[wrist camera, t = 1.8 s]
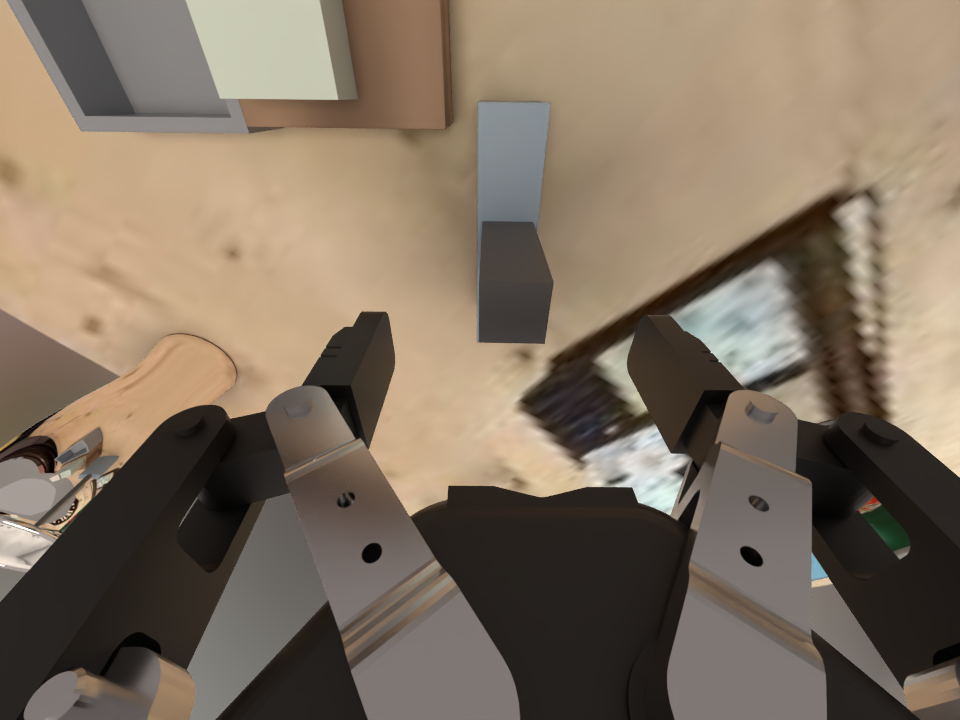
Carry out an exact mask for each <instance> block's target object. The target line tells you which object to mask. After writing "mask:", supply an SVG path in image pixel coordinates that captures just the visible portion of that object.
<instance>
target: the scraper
mask: <svg viewBox="0 0 960 720" xmlns="http://www.w3.org/2000/svg"><path fill="white" fill-rule="evenodd" d="M550 104H551V103H547V102H540V101H479V102H478V207H477V342H486V343H537V344H545V337H546V330H547V323H548V317H549V310H550V303H551V296H552V289H553V279H552V276H551V273H550V270H549V268H548V265H547V262H546V259H545V256H544V253H543V250H542V247H541V244H540V241H539V238H538V235H537V227H538V218H539V208H540V199H541V189H542V180H543V170H544V161H545V151H546V142H547V132H548V123H549V113H550Z"/></svg>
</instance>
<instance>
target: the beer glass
mask: <svg viewBox="0 0 960 720" xmlns="http://www.w3.org/2000/svg"><path fill="white" fill-rule="evenodd" d="M236 377H237V373H236V369H235V366H234V364H233V363H232V361H231V360H230V358H229V357H228V356H227V355H226V354H225V353H224V352H223V351H222V350H221V349H219V348H218V347H216V346H215V345H213V344H212V343H210V342H208V341H206V340H204V339H201V338H198V337H195V336H191V335H186V334H173V335H169V336H166V337H164V338H162V339H161V340H160V341H159V342H158V343H157V344H156V345H155V346H154V347H153V348H152V350H151V351H150V352H149V353H148V355H147V356H146V357H145V358H144V359H143V360H142V361H141V362H140V363H139V364H138V365H136V367H134V368H133V369H132V370H130V371H129V372H127V373H126V374H125V375H123V376H121V377H120V378H118V379H116V380H114V381H112V382H111V383H109V384H107V385H105V386H103V387H101V388H99V389H97V390H95V391H94V392H92V393H90V394H88V395H86V396H84V397H82V398H80V399H78V400H76V401H74V402H72V403H71V404H69V405H67V406H65V407H63V408H61V409H60V410H58V411H57V412H54V413H53V414H51V415H49V416H48V417H46V418H44V419H42V420H41V421H39V422H37V423H36V424H34V425H33V426H31V427H30V428H28V429H27V430H25V431H24V432H22V433H21V434H20V435H18V436H17V437H15V438H14V439H12V440H11V441H9V442H8V443H7V444H5V445H4V446H3V447H2V448H0V567H2V568H5V569H11V570H15V571H21V572H28V571H29V570H30V569H31V567H32V566H33V565H34V564H35V563H36V562H37V561H38V560H39V559H40V557H41V556H42V555H43V554H44V553H45V552H46V551H47V550H48V548H49V547H50V546H51V545H52V544H53V543H54V542H55V541H56V540H57V538H58V537H59V536H60V535H61V534H62V533H63V532H64V531H65V530H66V528H67V527H68V526H69V525H70V524H71V523H72V522H73V521H74V520H75V518H76V517H77V516H78V515H79V514H80V513H81V512H82V511H83V510H84V508H85V507H86V506H87V505H88V504H89V503H90V502H91V501H92V500H93V498H94V497H95V496H96V495H97V494H98V493H99V492H100V491H101V490H102V488H103V487H104V486H105V485H106V484H107V483H108V482H109V481H110V479H111V478H112V477H113V476H114V475H115V474H116V473H117V472H118V471H119V469H120V468H121V467H122V466H123V465H124V464H125V463H126V462H127V461H128V459H129V458H130V457H131V456H132V455H133V454H134V453H135V452H136V451H137V449H138V448H139V447H140V446H141V445H142V444H143V443H144V442H145V441H146V439H147V438H148V437H149V436H150V435H151V434H152V433H153V432H154V431H155V429H156V428H157V427H158V426H159V425H160V424H161V423H163V422H164V421H165V420H167V419H168V418H170V417H171V416H173V415H175V414H177V413H179V412H181V411H183V410H186V409H188V408H192V407H195V406H200V405H209V404H210V403H212V402H213V401H214V400H215V399H217V398H218V397H219V396H221V395H222V394H223V393H225V392H226V391H227V390H229V389H230V388H231V387H232V386H233V385H234V383H235V381H236Z"/></svg>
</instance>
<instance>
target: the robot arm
mask: <svg viewBox="0 0 960 720" xmlns="http://www.w3.org/2000/svg"><path fill="white" fill-rule="evenodd" d="M710 352H711V351H710V350H709V349H708V348H707V347H706V346H705V344H704V343H703V342H702V341H701V340H699V339H698V338H696V337H694V336H693V335H691V334H690V333H688V332H686V331H683V329H682V328H681V327H680V326H679V325H678V324H677V322H676V321H675V320H674V319H673V318H672V317H671V316H668V315H644V316H643V317H642V318H641V319H640V321H639V323H638V327H637V330H636V333H635V336H634V339H633V342H632V345H631V348H630V351H629V354H628V359H627V368H628V373H629V375H630V377H631V379H632V381H633V383H634V385H635V386H636V388H637V390H638V392H639V394H640V396H641V398H642V400H643V402H644V403H645V405H646V407H647V409H648V411H649V413H650V415H651V417H652V418H653V420H654V422H655V424H656V426H657V428H658V430H659V432H660V434H661V435H662V437H663V439H664V441H665V443H666V445H667V447H668V449H669V451H670V452H671V453H674V454H690V455H691V457H692V460H691V461H690V463H689V465H688V467H687V469H686V472H685V475H684V478H683V481H682V484H681V487H680V490H679V492H678V495H677V498H676V501H675V504H674V507H673V510H672V512H671V515H670V516H669V515H667V514H666V513H664V512H661V511H659V510H657V509H655V508H652V507H650V506H647V505H644V504H641V503H638V501H637V499H636V496H635V494H634V491H633V488H629V487H586V488H581V489H577V490H573V491H569V492H565V493H561V494H557V495H553V496H549V497H536V496H532V495H527V494H523V493H519V492H515V491H511V490H507V489H503V488H499V487H495V486H449V487H448V499H447V500H445V501H441V502H438V503H435V504H433V505H430V506H428V507H426V508H424V509H422V510H420V511H418V512H416V513H415V514H413V515H412V516H409V515H408V513H407V511H406V510H405V508H404V507H403V505H402V503H401V502H400V500H399V499H398V497H397V495H396V494H395V492H394V490H393V489H392V487H391V486H390V484H389V482H388V481H387V479H386V478H385V476H384V474H383V473H382V471H381V469H380V468H379V466H378V465H377V463H376V461H375V460H374V458H373V457H372V455H371V453H370V452H369V450H368V449H369V447H370V444H371V441H372V437H373V434H374V431H375V428H376V425H377V422H378V419H379V416H380V412H381V409H382V406H383V403H384V400H385V397H386V394H387V391H388V387H389V384H390V381H391V378H392V375H393V372H394V367H395V352H394V346H393V340H392V334H391V328H390V322H389V317H388V314H387V313H386V312H361V313H360V315H359V317H358V318H357V320H356V322H355V324H354V325H353V327H344V328H343V329H342V330H340V331H339V332H337V333H336V334H335V335H333V336H332V338H331V339H330V341H329V343H328V344H327V346H326V349H324V351H323V352H322V354H321V357H319V359H318V360H317V362H316V364H315V365H314V367H313V368H312V370H311V372H310V373H309V375H308V376H307V378H306V380H305V381H304V383H303V384H302V386H300V387H296V388H293V389H290V390H287V391H285V392H283V393H281V394H280V395H278V396H277V397H276V398H274V399H273V400H272V401H271V402H270V404H269V405H268V407H267V409H266V411H265V412H261V413H256V414H251V415H247V416H242V417H237V418H232V419H230V418H229V416H228V415H227V413H226V411H225V410H224V409H223V408H222V407H220V406H217V405H200V406H195V407H192V408H188V409H186V410H183V411H181V412H179V413H177V414H175V415H173V416H171V417H170V418H168V419H167V420H165V421H164V422H163V423H161V424H160V425H159V426H158V427H157V428H156V429H155V431H154V432H153V433H152V434H151V435H150V436H149V437H148V438H147V439H146V441H145V442H144V443H143V444H142V445H141V446H140V447H139V448H138V449H137V451H136V452H135V453H134V454H133V455H132V456H131V457H130V458H129V459H128V461H127V462H126V463H125V464H124V465H123V466H122V467H121V468H120V469H119V471H118V472H117V473H116V474H115V475H114V476H113V477H112V478H111V479H110V481H109V482H108V483H107V484H106V485H105V486H104V487H103V488H102V490H101V491H100V492H99V493H98V494H97V495H96V496H95V497H94V498H93V500H92V501H91V502H90V503H89V504H88V505H87V506H86V507H85V508H84V510H83V511H82V512H81V513H80V514H79V515H78V516H77V517H76V518H75V520H74V521H73V522H72V523H71V524H70V525H69V526H68V527H67V528H66V530H65V531H64V532H63V533H62V534H61V535H60V536H59V537H58V538H57V540H56V541H55V542H54V543H53V544H52V545H51V546H50V547H49V548H48V550H47V551H46V552H45V553H44V554H43V555H42V556H41V557H40V559H39V560H38V561H37V562H36V563H35V564H34V565H33V566H32V567H31V569H30V570H29V571H28V572H27V573H26V574H25V575H24V576H23V577H22V579H21V580H20V581H19V582H18V583H17V584H16V585H15V586H14V587H13V589H12V590H11V591H10V592H9V593H8V594H7V595H6V596H5V598H4V599H3V600H2V601H1V602H0V720H189V718H190V715H191V711H192V709H193V705H194V699H195V686H194V680H193V678H192V676H191V674H190V673H189V672H188V671H187V667H188V665H189V663H190V661H191V659H192V657H193V655H194V652H195V650H196V648H197V646H198V644H199V642H200V640H201V638H202V635H203V633H204V631H205V629H206V627H207V625H208V623H209V621H210V618H211V616H212V614H213V612H214V610H215V607H216V606H217V603H218V601H219V599H220V597H221V595H222V593H223V591H224V589H225V586H226V584H227V582H228V580H229V578H230V576H231V574H232V571H233V569H234V567H235V565H236V563H237V561H238V559H239V556H240V554H241V552H242V550H243V548H244V546H245V544H246V542H247V539H248V537H249V535H250V533H251V531H252V529H253V526H254V524H255V522H256V520H257V518H258V516H259V514H260V512H261V509H262V507H263V505H264V503H265V501H266V499H268V498H272V497H276V496H280V495H283V494H287V493H290V494H291V497H292V500H293V502H294V505H295V508H296V511H297V514H298V516H299V519H300V522H301V525H302V528H303V530H304V533H305V536H306V539H307V541H308V544H309V547H310V550H311V553H312V556H313V558H314V561H315V564H316V567H317V570H318V572H319V575H320V578H321V581H322V584H323V586H324V589H325V591H326V595H327V597H328V601H327V602H326V603H325V604H324V605H323V606H322V607H321V608H320V609H319V611H318V612H317V613H316V614H315V615H314V616H313V617H312V618H311V619H310V620H309V621H308V622H307V623H306V624H305V626H303V628H302V629H301V630H300V631H299V632H298V633H297V634H296V635H295V636H294V637H293V638H292V639H291V641H289V643H288V644H287V645H286V646H285V647H284V648H283V649H282V650H281V651H280V652H279V653H278V654H277V655H276V656H275V657H274V658H273V659H272V660H271V661H270V663H269V664H268V665H267V666H266V667H265V668H264V669H263V670H262V671H261V672H260V673H259V674H258V675H257V676H256V677H255V679H254V680H253V681H252V682H251V683H250V684H249V685H248V686H247V687H246V688H245V689H244V690H243V691H242V692H241V693H240V694H239V695H238V697H237V698H236V699H235V700H234V701H233V702H232V703H231V704H230V705H229V706H228V707H227V708H226V709H225V710H224V711H223V712H222V713H221V715H220V716H219V717H218V718H217V719H216V720H960V478H959V477H958V476H957V475H956V474H955V473H953V472H952V471H951V470H950V469H949V468H948V467H946V466H945V465H944V464H943V463H942V462H940V461H939V460H938V459H937V458H936V457H935V456H933V455H932V454H931V453H930V452H929V451H927V450H926V449H925V448H924V447H923V446H922V445H920V444H919V443H918V442H917V441H916V440H914V439H913V438H912V437H911V436H910V435H908V434H907V433H906V432H904V431H903V430H901V429H900V428H898V427H896V426H894V425H892V424H890V423H888V422H886V421H884V420H881V419H879V418H876V417H873V416H870V415H866V414H862V413H855V412H847V413H843V414H841V415H839V416H838V417H837V419H836V420H835V421H834V422H833V423H832V424H831V425H830V426H825V425H820V424H816V423H811V422H807V421H802V420H798V419H797V417H796V415H795V414H794V413H793V411H792V410H791V409H790V408H788V407H787V406H786V405H785V404H783V403H782V402H780V401H779V400H777V399H775V398H773V397H771V396H768V395H766V394H763V393H760V392H756V391H750V390H745V389H744V388H743V387H742V386H741V385H740V383H739V382H738V381H737V380H736V379H735V378H734V377H733V376H732V375H731V373H730V372H729V371H728V370H727V369H726V368H725V367H724V366H723V364H722V363H721V362H718V359H717V358H716V357H715V356H714V354H713V353H710ZM196 497H197V498H198V499H197V501H196V502H195V504H194V505H193V507H192V508H191V510H190V511H189V513H188V515H187V516H186V518H185V519H184V521H183V522H182V524H181V526H180V527H179V525H180V523H181V521H182V519H183V517H184V516H185V514H186V513H187V511H188V510H189V508H190V506H191V505H192V503H193V502H194V500H195V499H196ZM873 497H875V498H876V499H877V500H878V501H879V502H880V503H881V504H882V505H883V507H884V508H885V509H886V510H887V511H888V512H889V513H890V514H891V515H892V516H893V517H894V519H895V520H896V521H897V522H898V523H899V524H900V525H901V526H902V527H903V529H904V530H905V531H906V533H907V535H908V537H909V540H910V550H909V552H908V554H907V555H906V556H904V557H903V558H901V559H899V558H898V557H897V556H896V554H895V553H894V552H893V551H892V550H891V548H890V547H889V546H888V545H887V544H886V543H885V541H884V540H883V539H882V538H881V537H880V535H879V534H878V533H877V532H876V531H875V530H874V528H873V527H872V526H871V525H870V524H869V522H868V521H867V520H866V519H865V518H864V517H863V515H862V514H861V513H860V512H859V511H858V510H859V509H860V508H861V507H862V506H863V505H865V504H866V503H867V502H868V501H869V500H871V499H872V498H873ZM178 528H179V529H178ZM812 553H813V555H814V556H815V558H816V559H817V561H818V562H819V564H820V565H821V567H822V568H823V570H824V571H825V573H826V574H827V576H828V577H829V579H830V580H831V582H832V583H833V585H834V586H835V588H836V589H837V591H838V592H839V594H840V595H841V597H842V598H843V600H844V601H845V603H846V604H847V606H848V607H849V609H850V610H851V612H852V613H853V615H854V616H855V618H856V619H857V621H858V622H859V624H860V625H861V627H862V628H863V630H864V631H865V633H866V634H867V636H868V637H869V639H870V640H871V642H872V643H873V645H874V646H875V648H876V649H877V651H878V652H879V654H880V655H881V657H882V658H883V660H884V661H885V663H886V664H887V666H888V667H889V669H890V670H891V672H892V673H893V675H894V676H895V678H896V679H897V681H898V682H899V684H900V685H901V687H902V688H903V690H904V696H905V700H906V703H907V706H908V708H909V709H907V708H906V707H905V706H904V705H902V704H901V703H900V702H899V701H898V700H896V699H895V698H894V697H893V696H891V695H890V694H889V693H888V692H887V691H886V690H884V689H883V688H882V687H881V686H880V685H878V684H877V683H876V682H874V681H873V680H872V679H871V678H870V677H869V676H867V675H866V674H865V673H864V672H863V671H861V670H860V669H859V668H858V667H857V666H855V665H854V664H853V663H852V662H851V661H849V660H848V659H847V658H846V657H844V656H843V655H842V654H841V653H840V652H838V651H837V650H836V649H835V648H834V647H832V646H831V645H830V644H829V643H827V642H826V641H825V640H824V639H823V638H821V637H820V636H819V635H818V634H817V633H815V632H814V631H813V630H812V629H811V570H812Z"/></svg>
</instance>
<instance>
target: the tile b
mask: <svg viewBox="0 0 960 720" xmlns="http://www.w3.org/2000/svg"><path fill="white" fill-rule="evenodd" d="M186 3H187V6H188V9H189V12H190V14H191V17H192V20H193V23H194V26H195V29H196V32H197V34H198V37H199V40H200V43H201V46H202V49H203V51H204V54H205V57H206V60H207V63H208V66H209V69H210V71H211V74H212V77H213V80H214V83H215V86H216V88H217V91H218V94H219V97H220V99H301V100H349V99H358V96H357V90H356V84H355V78H354V72H353V65H352V59H351V53H350V47H349V41H348V34H347V28H346V22H345V16H344V10H343V3H342V0H186Z"/></svg>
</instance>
